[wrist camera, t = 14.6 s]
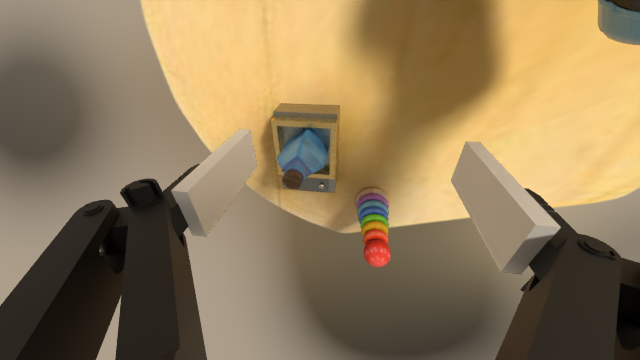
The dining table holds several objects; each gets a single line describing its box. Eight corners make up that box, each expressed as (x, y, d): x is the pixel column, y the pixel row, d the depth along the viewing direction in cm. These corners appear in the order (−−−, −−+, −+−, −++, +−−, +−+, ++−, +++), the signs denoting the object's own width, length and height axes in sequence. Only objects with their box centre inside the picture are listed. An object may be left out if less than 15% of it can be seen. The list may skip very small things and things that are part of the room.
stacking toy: (361, 213, 61) (361, 278, 46) (351, 190, 57) (347, 253, 42) (391, 207, 58) (402, 273, 43) (383, 182, 54) (390, 246, 39)
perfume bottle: (308, 126, 44) (292, 157, 34) (328, 150, 46) (319, 185, 36) (285, 143, 46) (265, 176, 37) (305, 165, 49) (291, 201, 39)
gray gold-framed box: (281, 103, 47) (270, 115, 41) (339, 105, 45) (336, 118, 40) (288, 176, 57) (280, 193, 52) (336, 180, 56) (333, 198, 50)
